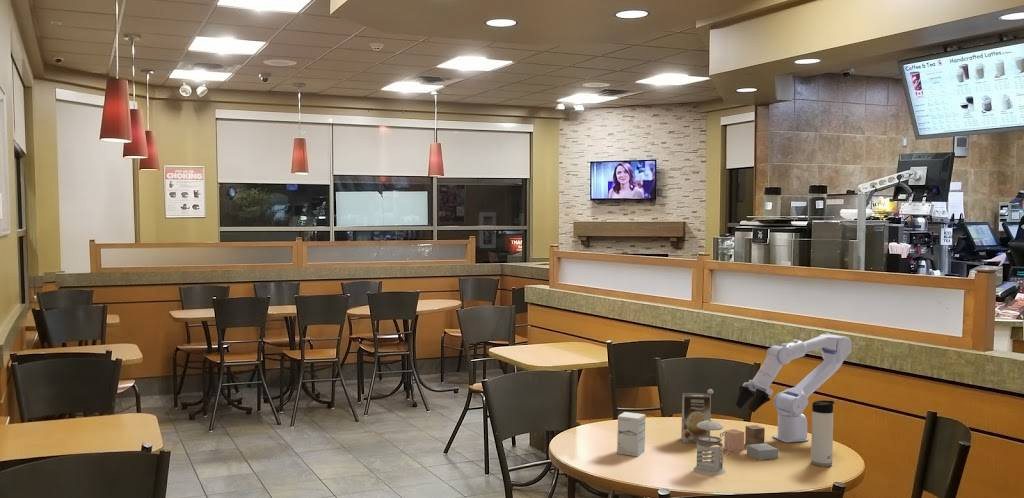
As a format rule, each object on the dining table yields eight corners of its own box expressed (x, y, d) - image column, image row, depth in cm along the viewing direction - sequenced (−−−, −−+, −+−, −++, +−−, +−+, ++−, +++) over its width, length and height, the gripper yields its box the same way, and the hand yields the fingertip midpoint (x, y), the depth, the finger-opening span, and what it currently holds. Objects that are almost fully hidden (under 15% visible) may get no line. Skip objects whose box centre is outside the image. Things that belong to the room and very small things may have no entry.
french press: (702, 463, 266) (703, 384, 265) (736, 470, 259) (738, 389, 258) (687, 470, 259) (688, 389, 258) (722, 478, 251) (723, 394, 250)
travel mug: (835, 467, 263) (836, 403, 262) (812, 466, 264) (813, 402, 263) (831, 461, 269) (832, 399, 268) (809, 460, 270) (810, 398, 269)
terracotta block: (733, 446, 286) (733, 429, 286) (744, 449, 282) (744, 431, 282) (724, 448, 284) (724, 430, 283) (734, 451, 280) (734, 433, 280)
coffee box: (682, 442, 290) (683, 396, 290) (681, 438, 297) (681, 392, 296) (710, 443, 289) (710, 397, 289) (707, 438, 296) (708, 393, 295)
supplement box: (616, 454, 276) (616, 415, 276) (624, 448, 283) (624, 411, 282) (638, 457, 273) (638, 418, 272) (645, 451, 279) (646, 413, 279)
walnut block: (756, 442, 292) (756, 425, 292) (764, 445, 287) (764, 428, 287) (745, 443, 290) (745, 425, 290) (752, 446, 286) (753, 429, 286)
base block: (765, 452, 279) (765, 443, 279) (777, 458, 272) (778, 448, 272) (746, 454, 277) (746, 444, 277) (759, 460, 270) (759, 450, 270)
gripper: (745, 366, 296) (724, 398, 294) (770, 371, 283) (749, 405, 280) (758, 378, 298) (738, 410, 295) (784, 384, 284) (763, 417, 282)
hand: (744, 408), depth 288 cm, fingers open, 7 cm apart
